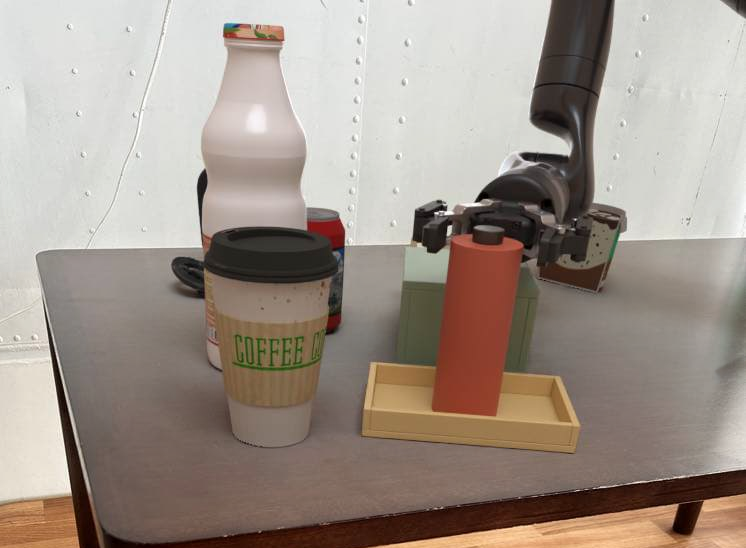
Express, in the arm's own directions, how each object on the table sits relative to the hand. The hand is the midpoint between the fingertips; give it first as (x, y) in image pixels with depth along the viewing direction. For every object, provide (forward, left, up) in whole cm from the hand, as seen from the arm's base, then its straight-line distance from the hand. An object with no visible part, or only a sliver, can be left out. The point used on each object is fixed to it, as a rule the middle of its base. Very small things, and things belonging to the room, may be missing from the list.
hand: (486, 246), depth 62 cm
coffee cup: (+16, +5, -15) cm, 22 cm away
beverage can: (+16, -23, -15) cm, 32 cm away
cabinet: (0, -19, -15) cm, 24 cm away
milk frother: (+27, -38, -15) cm, 49 cm away
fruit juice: (+20, -11, -15) cm, 27 cm away
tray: (0, -1, -15) cm, 15 cm away
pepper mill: (0, -2, -14) cm, 14 cm away
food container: (-18, -52, -15) cm, 57 cm away
